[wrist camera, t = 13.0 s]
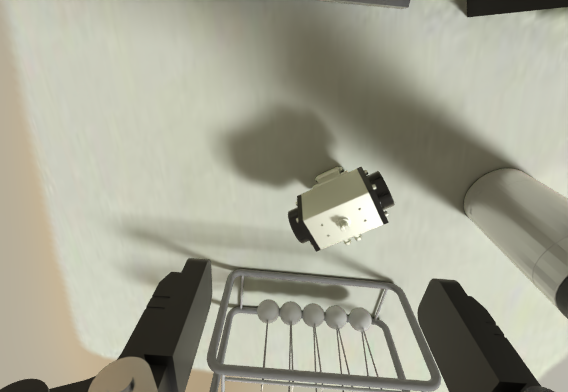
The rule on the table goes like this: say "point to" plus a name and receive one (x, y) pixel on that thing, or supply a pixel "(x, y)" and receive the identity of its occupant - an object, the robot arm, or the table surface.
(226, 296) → the newton's cradle
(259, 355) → the table surface
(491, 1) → the game console
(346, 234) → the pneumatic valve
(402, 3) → the grey compartment tray
